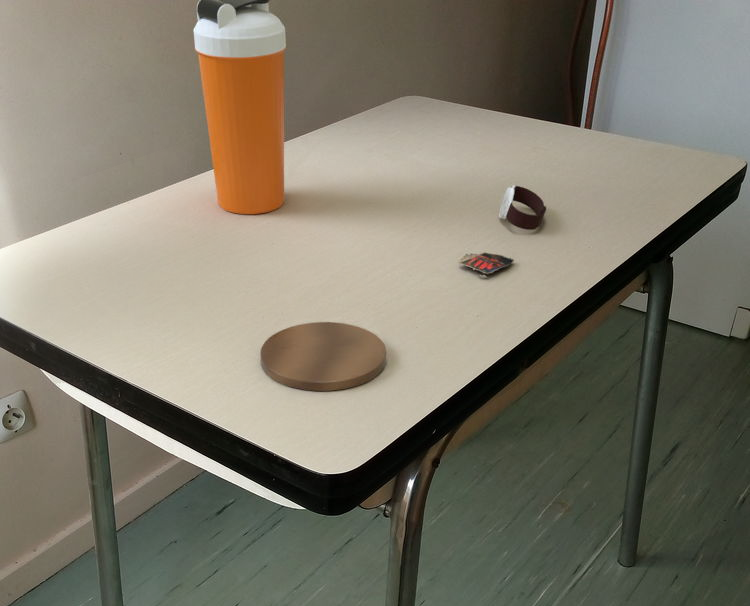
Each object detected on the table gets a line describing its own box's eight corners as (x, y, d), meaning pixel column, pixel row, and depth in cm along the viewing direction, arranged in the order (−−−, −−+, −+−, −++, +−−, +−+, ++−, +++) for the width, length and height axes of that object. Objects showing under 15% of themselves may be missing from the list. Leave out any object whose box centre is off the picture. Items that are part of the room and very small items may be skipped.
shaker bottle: (310, 202, 108) (303, -3, 96) (247, 224, 103) (231, 11, 91) (254, 182, 113) (242, -15, 101) (192, 202, 108) (170, -3, 96)
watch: (497, 206, 108) (500, 172, 105) (541, 207, 107) (545, 173, 105) (500, 234, 101) (503, 198, 99) (547, 235, 101) (551, 200, 99)
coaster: (261, 393, 76) (260, 384, 76) (260, 332, 84) (260, 323, 84) (392, 388, 77) (392, 379, 76) (379, 328, 85) (380, 319, 84)
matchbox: (516, 260, 96) (516, 256, 96) (494, 280, 92) (494, 276, 92) (471, 251, 98) (472, 246, 97) (448, 270, 94) (448, 265, 94)
